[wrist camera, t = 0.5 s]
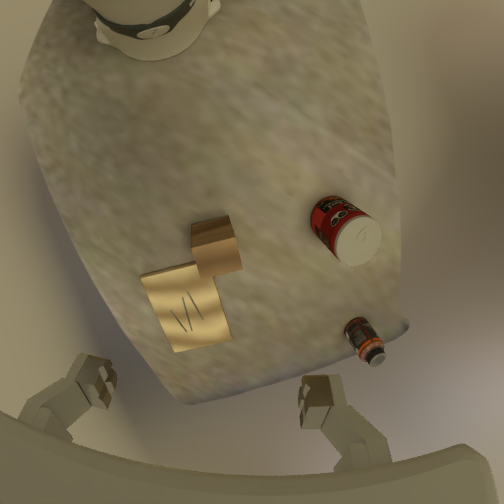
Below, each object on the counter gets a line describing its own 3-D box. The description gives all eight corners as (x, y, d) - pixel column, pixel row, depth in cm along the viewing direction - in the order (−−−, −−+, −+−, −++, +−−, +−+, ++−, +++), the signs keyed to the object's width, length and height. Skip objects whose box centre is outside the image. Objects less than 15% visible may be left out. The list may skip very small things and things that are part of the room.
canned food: (353, 197, 50) (388, 219, 40) (343, 239, 53) (373, 268, 44) (314, 192, 48) (344, 213, 39) (305, 236, 52) (330, 266, 42)
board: (141, 274, 49) (140, 278, 48) (207, 258, 50) (208, 261, 49) (174, 348, 58) (174, 352, 57) (231, 335, 59) (232, 339, 57)
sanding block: (191, 224, 47) (191, 248, 39) (228, 215, 48) (235, 237, 40) (199, 251, 50) (201, 279, 42) (234, 242, 50) (242, 269, 42)
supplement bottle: (339, 337, 65) (360, 371, 55) (350, 316, 62) (373, 350, 52) (360, 336, 66) (382, 369, 56) (370, 316, 64) (395, 348, 54)
